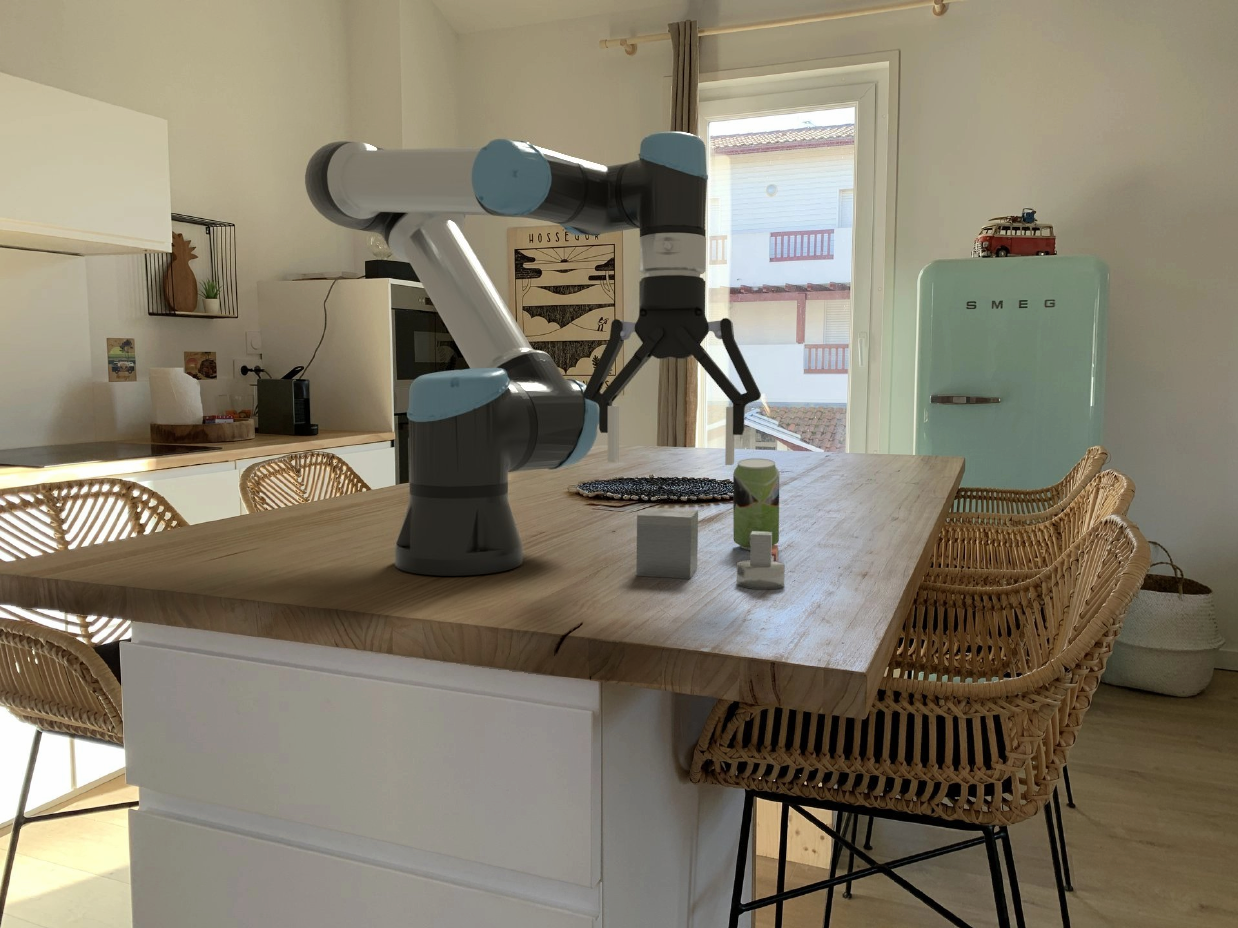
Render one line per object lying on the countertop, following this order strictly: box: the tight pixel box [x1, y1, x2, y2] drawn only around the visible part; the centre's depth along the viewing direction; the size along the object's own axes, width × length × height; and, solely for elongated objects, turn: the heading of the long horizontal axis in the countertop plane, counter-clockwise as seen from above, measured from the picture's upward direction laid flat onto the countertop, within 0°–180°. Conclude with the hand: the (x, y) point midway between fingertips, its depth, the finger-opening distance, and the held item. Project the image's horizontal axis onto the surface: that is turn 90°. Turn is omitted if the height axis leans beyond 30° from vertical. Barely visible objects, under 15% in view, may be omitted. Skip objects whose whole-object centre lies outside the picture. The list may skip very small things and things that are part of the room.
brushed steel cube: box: [635, 507, 699, 580], centre depth 108 cm, size 6×6×7 cm
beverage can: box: [732, 458, 780, 551], centre depth 123 cm, size 6×7×12 cm
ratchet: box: [736, 531, 786, 591], centre depth 108 cm, size 5×17×6 cm, turn 168°
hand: (670, 463), depth 107 cm, fingers open, 13 cm apart
